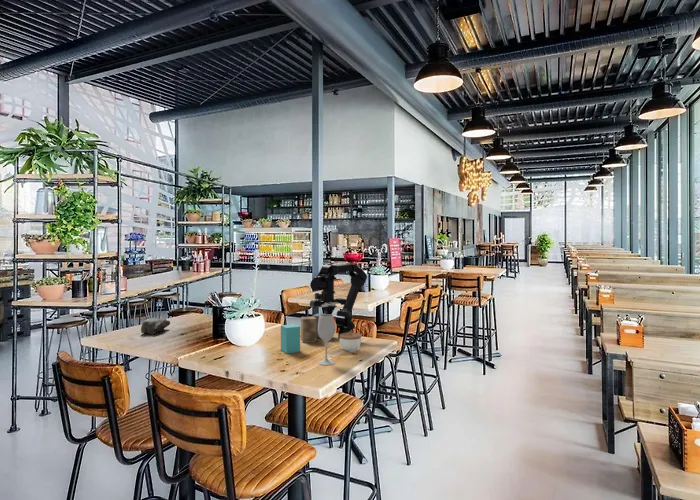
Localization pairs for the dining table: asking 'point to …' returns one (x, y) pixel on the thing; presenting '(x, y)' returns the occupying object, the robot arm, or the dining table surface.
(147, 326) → the rock
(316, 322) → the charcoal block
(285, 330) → the teal block
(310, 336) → the walnut block
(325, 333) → the wineglass
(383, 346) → the dining table surface
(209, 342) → the dining table surface
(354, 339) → the lidded jar
